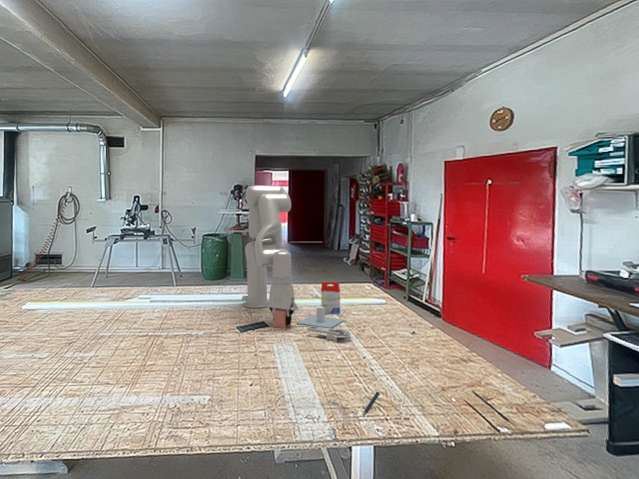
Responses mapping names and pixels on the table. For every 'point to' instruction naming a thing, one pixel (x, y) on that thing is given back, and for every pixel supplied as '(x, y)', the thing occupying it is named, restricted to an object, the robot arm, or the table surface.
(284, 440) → the table surface
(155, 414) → the table surface
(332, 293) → the ink box
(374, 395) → the pencil
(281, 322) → the salmon pink block
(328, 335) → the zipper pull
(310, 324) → the post fixture
